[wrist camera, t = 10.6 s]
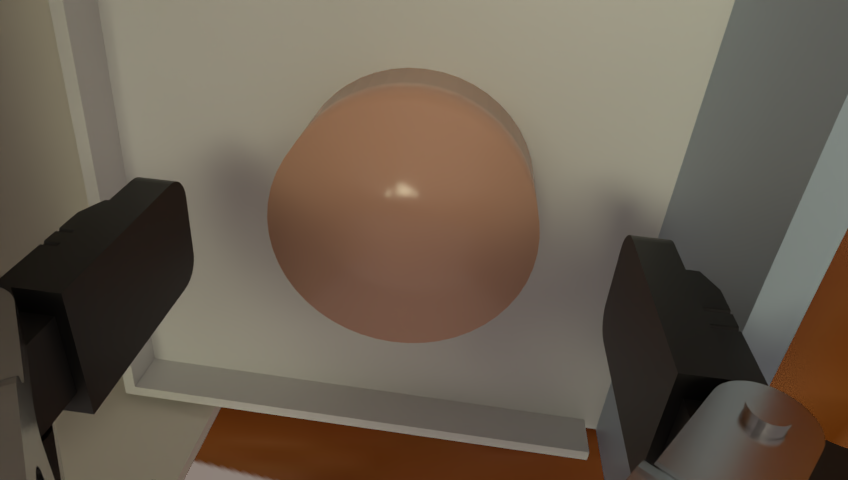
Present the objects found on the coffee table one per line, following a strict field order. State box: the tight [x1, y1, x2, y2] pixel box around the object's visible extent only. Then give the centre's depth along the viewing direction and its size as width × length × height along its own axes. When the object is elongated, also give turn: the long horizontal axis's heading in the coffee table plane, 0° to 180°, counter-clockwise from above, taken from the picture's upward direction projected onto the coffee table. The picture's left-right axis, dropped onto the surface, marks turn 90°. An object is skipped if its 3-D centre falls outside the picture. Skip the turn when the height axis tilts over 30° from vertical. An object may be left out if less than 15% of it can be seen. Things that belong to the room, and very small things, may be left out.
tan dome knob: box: [267, 68, 540, 343], centre depth 14 cm, size 6×6×2 cm
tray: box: [48, 0, 848, 480], centre depth 13 cm, size 14×14×6 cm
